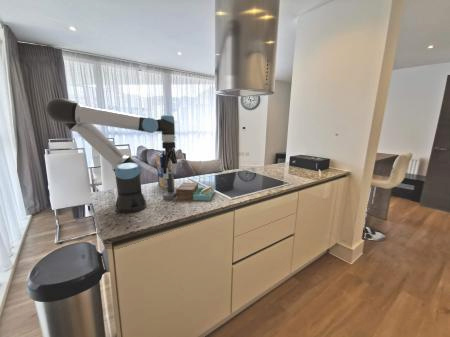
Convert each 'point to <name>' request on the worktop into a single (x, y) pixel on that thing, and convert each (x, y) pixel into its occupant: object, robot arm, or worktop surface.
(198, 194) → the tray
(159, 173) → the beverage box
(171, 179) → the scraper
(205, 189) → the tile
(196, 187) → the brown wooden box
